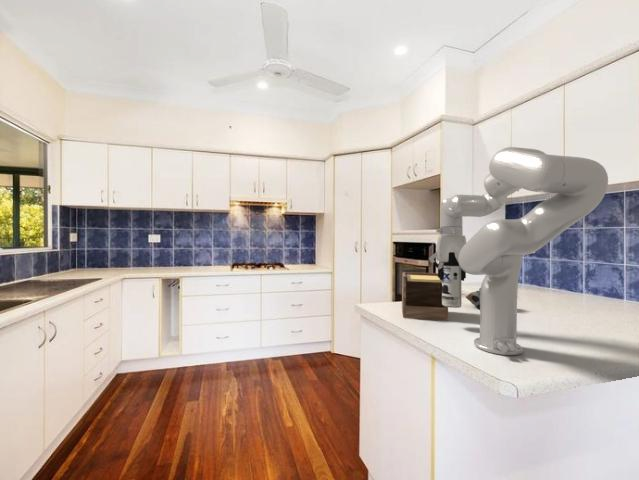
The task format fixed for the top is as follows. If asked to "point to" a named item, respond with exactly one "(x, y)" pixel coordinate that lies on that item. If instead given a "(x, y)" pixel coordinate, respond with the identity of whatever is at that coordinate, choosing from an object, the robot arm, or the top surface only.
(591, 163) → the robot arm
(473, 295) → the lucky cat figurine
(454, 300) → the spray can
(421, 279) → the trapdoor
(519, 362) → the top surface
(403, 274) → the stand
